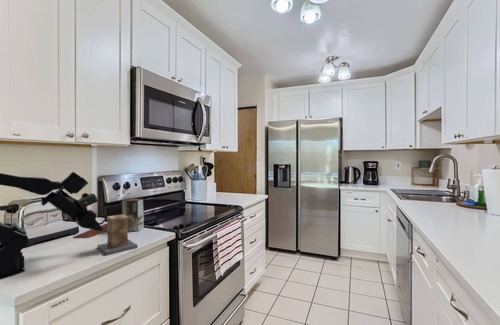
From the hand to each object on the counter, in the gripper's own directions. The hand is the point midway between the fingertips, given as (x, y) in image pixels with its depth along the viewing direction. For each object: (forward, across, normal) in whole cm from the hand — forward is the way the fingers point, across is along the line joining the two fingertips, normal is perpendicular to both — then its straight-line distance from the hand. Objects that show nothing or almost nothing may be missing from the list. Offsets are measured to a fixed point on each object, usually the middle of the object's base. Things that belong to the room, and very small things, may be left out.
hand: (98, 227), depth 102 cm
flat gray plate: (+12, 0, +2) cm, 12 cm away
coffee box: (+23, +24, -9) cm, 35 cm away
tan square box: (+11, 0, +1) cm, 11 cm away
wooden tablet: (+14, +35, +1) cm, 37 cm away
